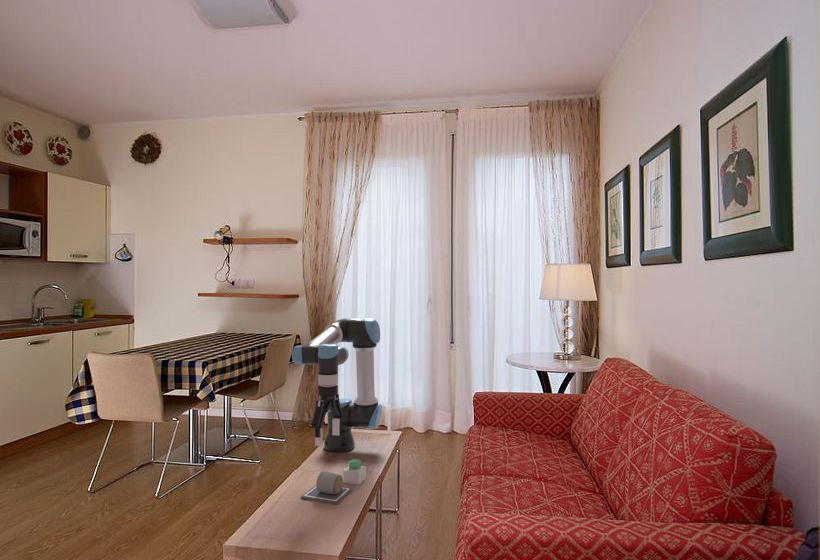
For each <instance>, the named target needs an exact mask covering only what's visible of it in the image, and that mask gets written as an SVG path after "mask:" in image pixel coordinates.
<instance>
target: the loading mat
mask: <svg viewBox="0 0 820 560" xmlns="http://www.w3.org/2000/svg"><path fill="white" fill-rule="evenodd" d="M352 491H353V488H351V487H345V486H342V489H341V491H340V492H339V493H338V494H334V495H333V494H328V493H322V492H318V491H317V488H316V485H314V486H313V487H312V488H310V489H309V490H307V491H306V492H305V493H303V494H302V495H301V496H300V499H302V500H308V501H312V500H313V501H314V502H319V503H324V504H330V503H331V505H338V504H339V503H340V502H342V500H344V499H345V498H346V497H347V496H348V495H350V494H351V492H352ZM313 501H312V502H313Z"/></svg>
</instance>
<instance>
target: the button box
mask: <svg viewBox="0 0 820 560" xmlns="http://www.w3.org/2000/svg"><path fill="white" fill-rule="evenodd" d="M342 479H343V483H344V482H345V483H346V484H350V485H351V484H352V485H358V486H359V485H360V484H361V483H362V482H363V481H365V480H366V479H367V466H366V465H361V467H359V468H349V465H348V466H347V467H345V468H344V469H343V470H342Z"/></svg>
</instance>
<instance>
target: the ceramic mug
mask: <svg viewBox="0 0 820 560" xmlns="http://www.w3.org/2000/svg"><path fill="white" fill-rule="evenodd" d="M343 485H344V482H343V475H340V474H338V473H334V472H330V471H327V470H322V471H320V473H319V474H318V476H317V479H316V484H315V486H316V488H317V491H318V492H322V493H328V494H333V495H334V494H338V493H339V492H340V491H341V489H342V487H344V486H343Z"/></svg>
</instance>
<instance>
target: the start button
mask: <svg viewBox="0 0 820 560" xmlns="http://www.w3.org/2000/svg"><path fill="white" fill-rule="evenodd" d="M348 466H349V468H359V467H361V466H362V461H361V459H358V458H357V459H356V458H354V459H350V460H348Z"/></svg>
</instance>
